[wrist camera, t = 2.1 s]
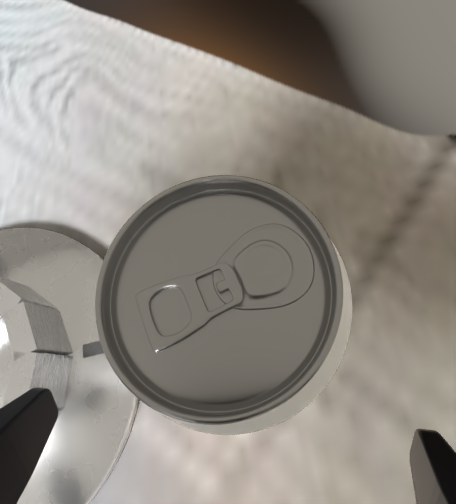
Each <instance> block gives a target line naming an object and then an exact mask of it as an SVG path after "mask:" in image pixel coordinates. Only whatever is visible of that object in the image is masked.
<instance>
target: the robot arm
mask: <svg viewBox="0 0 456 504" xmlns="http://www.w3.org/2000/svg"><path fill="white" fill-rule="evenodd" d="M58 413H59V412H58V407H57V404H56V402H55V399H54V397H53V394H52V392H51V390H49V389H48V388H40V387H35V388H32V389H30V390H29V391H27V392H25V393H24V394H22V395H21V396H19V397H18V398H16V399H14V400H13V401H11V402H10V403H8V404H7V405H5V406H3V407H2V408H0V504H17V502H18V500H19V499H20V497H21V495H22V493H23V491H24V490H25V488H26V486H27V484H28V482H29V480H30V478H31V476H32V474H33V472H34V470H35V468H36V466H37V463H38V461H39V459H40V457H41V454H42V452H43V450H44V448H45V445H46V443H47V441H48V439H49V436H50V434H51V432H52V430H53V427H54V425H55V423H56V421H57V418H58ZM410 466H411V472H412V478H413V484H414V490H415V496H416V502H417V504H456V452H455V451H454V450H453V449H452V448H451V446H450V445H449V444H448V443H447V442H446V440H445V439H444V438H443V437H442V436H441V435H440V434H439V433H438V432H437V431H434V430H427V429H417V430H416V431H415V433H414V437H413V442H412V446H411V450H410Z"/></svg>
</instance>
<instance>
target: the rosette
mask: <svg viewBox="0 0 456 504" xmlns="http://www.w3.org/2000/svg"><path fill="white" fill-rule="evenodd" d="M103 261H104V260H103V259H102V258H101V257H100V256H99V255H97V254H96V253H95V252H93V251H92V250H91V249H90V248H88V247H86V246H85V245H83V244H81V243H79V242H78V241H76V240H74V239H72V238H70V237H68V236H66V235H63V234H60V233H57V232H54V231H50V230H45V229H40V228H25V227H20V228H10V229H3V230H0V408H2V407H3V406H5V405H7V404H8V403H10V402H11V401H13V400H14V399H16V398H18V397H19V396H21V395H22V394H24V393H25V392H27V391H29V390H30V389H32V388H35V387H40V388H48V389H49V390H51V392H52V394H53V397H54V399H55V402H56V404H57V407H58V412H59V413H58V418H57V421H56V423H55V425H54V427H53V430H52V432H51V434H50V436H49V439H48V441H47V443H46V445H45V448H44V450H43V452H42V454H41V457H40V459H39V461H38V463H37V466H36V468H35V470H34V472H33V474H32V476H31V478H30V480H29V482H28V484H27V486H26V488H25V490H24V491H23V493H22V495H21V497H20V499H19V500H18V502H17V504H89V503H90V502H91V501H92V500H93V499H94V497H95V496H96V494H97V493H98V492H99V490H100V489H101V487H102V486H103V485H104V483H105V482H106V480H107V479H108V477H109V476H110V474H111V472H112V470H113V468H114V467H115V465H116V463H117V461H118V459H119V458H120V456H121V454H122V451H123V449H124V446H125V444H126V442H127V439H128V437H129V434H130V432H131V429H132V425H133V422H134V418H135V415H136V412H137V408H138V402H139V399H138V398H137V397H136V396H135V395H133V394H132V393H131V392H130V391H129V390H128V389H127V388H126V387H125V385H124V384H123V383H122V382H121V381H120V379H119V378H118V377H117V375H116V374H115V372H114V371H113V369H112V367H111V366H110V364H109V362H108V360H107V358H106V356H105V353H104V351H103V348H102V346H101V342H100V339H99V335H98V330H97V325H96V317H95V296H96V287H97V281H98V277H99V273H100V269H101V266H102V263H103Z"/></svg>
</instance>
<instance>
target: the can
mask: <svg viewBox="0 0 456 504" xmlns="http://www.w3.org/2000/svg"><path fill="white" fill-rule="evenodd" d="M95 317H96V325H97V330H98V335H99V339H100V342H101V346H102V348H103V351H104V353H105V356H106V358H107V360H108V362H109V364H110V366H111V367H112V369H113V371H114V372H115V374H116V375H117V377H118V378H119V379H120V381H121V382H122V383H123V384H124V385H125V387H126V388H127V389H128V390H129V391H130V392H131V393H132V394H133V395H135V396H136V397H137V398H138V399H139V400H141V401H142V402H143V403H145V404H146V405H148V406H149V407H151V408H152V409H154V410H156V411H158V412H159V413H160V414H162V415H163V416H165V417H166V418H168V419H170V420H171V421H173V422H175V423H177V424H180V425H182V426H184V427H187V428H190V429H193V430H196V431H200V432H205V433H211V434H220V435H235V434H245V433H251V432H256V431H260V430H263V429H266V428H269V427H272V426H275V425H277V424H279V423H281V422H283V421H285V420H287V419H289V418H291V417H292V416H294V415H296V414H297V413H299V412H300V411H301V410H303V409H304V408H305V407H306V406H308V405H309V404H310V403H311V402H312V401H313V400H314V399H315V398H316V397H317V396H318V395H319V394H320V393H321V392H322V391H323V389H324V388H325V387H326V386H327V384H328V383H329V382H330V380H331V379H332V377H333V376H334V374H335V372H336V370H337V368H338V367H339V365H340V362H341V360H342V358H343V355H344V353H345V350H346V347H347V343H348V340H349V335H350V330H351V323H352V295H351V288H350V283H349V278H348V275H347V271H346V268H345V266H344V263H343V261H342V258H341V256H340V254H339V252H338V251H337V249H336V247H335V245H334V244H333V242H332V241H331V239H330V238H329V236H328V234H327V232H326V231H325V229H324V227H323V226H322V225H321V223H320V222H319V221H318V219H317V218H316V217H315V216H314V214H313V213H312V212H311V211H310V210H309V209H308V208H307V207H306V206H305V205H304V204H302V203H301V202H300V201H299V200H297V199H296V198H295V197H293V196H292V195H290V194H289V193H287V192H286V191H284V190H282V189H280V188H278V187H276V186H274V185H272V184H269V183H266V182H264V181H260V180H257V179H253V178H248V177H242V176H233V175H217V176H208V177H202V178H197V179H193V180H189V181H186V182H183V183H181V184H178V185H176V186H173V187H171V188H169V189H167V190H165V191H163V192H162V193H160V194H158V195H157V196H155V197H154V198H152V199H151V200H149V201H148V202H147V203H145V204H144V205H143V206H142V207H141V208H139V209H138V210H137V211H136V212H135V213H134V214H133V215H132V216H131V217H130V218H129V219H128V221H127V222H126V223H125V224H124V225H123V227H122V228H121V229H120V231H119V232H118V234H117V235H116V237H115V238H114V240H113V242H112V243H111V245H110V247H109V249H108V251H107V253H106V256H105V258H104V261H103V263H102V266H101V269H100V273H99V277H98V281H97V287H96V296H95Z"/></svg>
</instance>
